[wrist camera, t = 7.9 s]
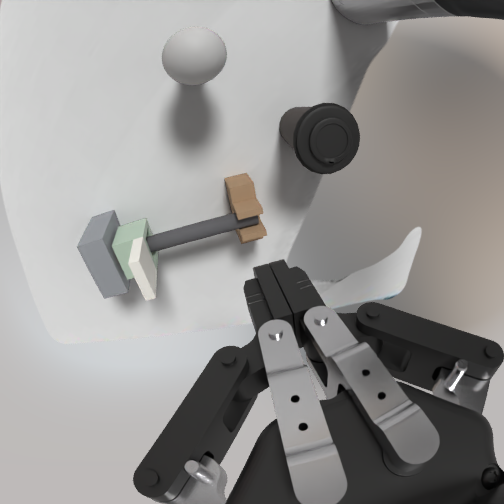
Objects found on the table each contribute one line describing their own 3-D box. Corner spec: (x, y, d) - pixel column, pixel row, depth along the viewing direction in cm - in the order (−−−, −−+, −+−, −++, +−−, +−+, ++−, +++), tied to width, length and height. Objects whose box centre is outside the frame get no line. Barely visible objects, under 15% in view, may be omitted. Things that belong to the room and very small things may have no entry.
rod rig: (246, 172, 39) (261, 194, 33) (256, 224, 44) (271, 253, 37) (87, 218, 37) (71, 248, 31) (108, 265, 42) (99, 299, 35)
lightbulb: (156, 71, 30) (146, 65, 21) (184, 31, 28) (185, 9, 19) (198, 94, 33) (206, 97, 23) (226, 54, 31) (245, 42, 21)
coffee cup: (285, 165, 40) (315, 190, 32) (258, 114, 36) (283, 125, 27) (334, 138, 39) (374, 156, 31) (310, 87, 35) (349, 91, 27)
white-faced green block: (146, 218, 37) (139, 260, 29) (158, 250, 40) (155, 298, 31) (118, 226, 36) (104, 270, 28) (131, 257, 39) (123, 306, 31)
